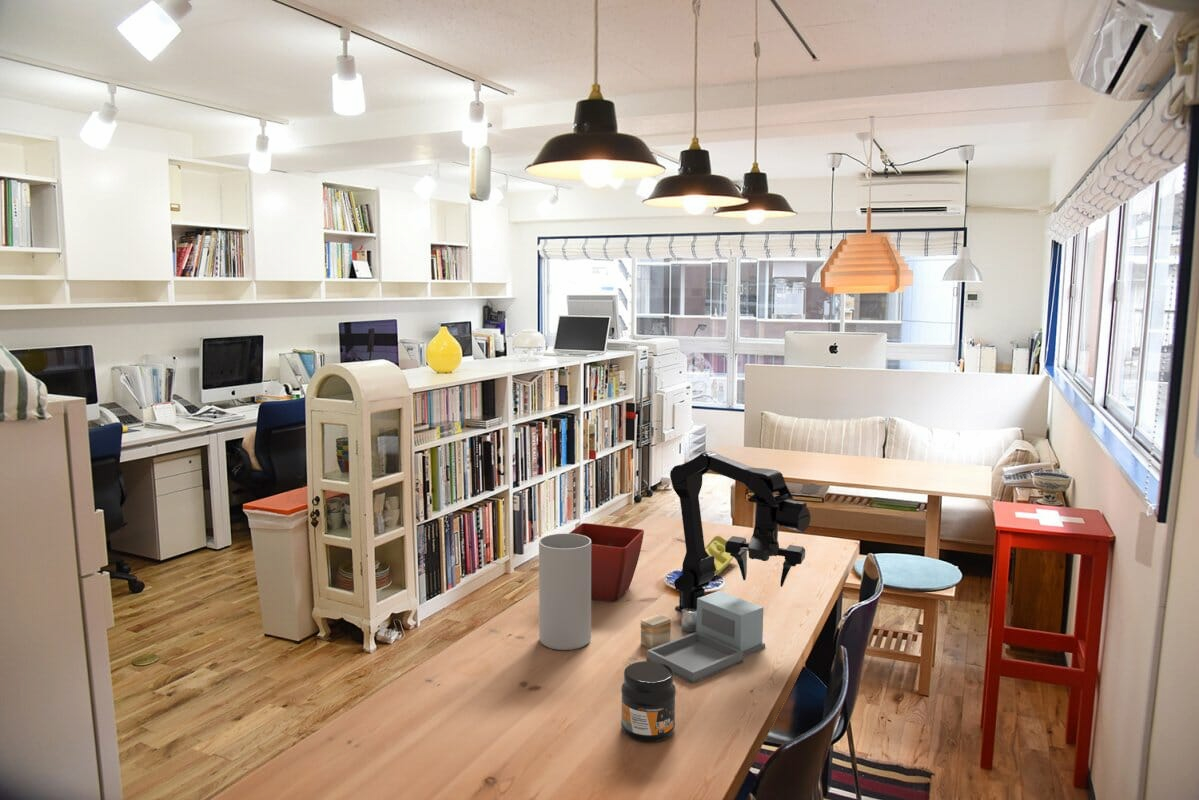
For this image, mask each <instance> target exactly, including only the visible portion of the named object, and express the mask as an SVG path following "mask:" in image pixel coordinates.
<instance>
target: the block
mask: <svg viewBox="0 0 1199 800" xmlns="http://www.w3.org/2000/svg"><path fill="white" fill-rule="evenodd" d="M671 621H672V620H671V618H670V617H667V616H665V615H662V614H660V613H658V614H655V615H651V616H650V617H647V618H643V619H640V644H641V645H643V646H644V647H647V648H649V649H652V648H654V647H657V646H660V645H662V644H665V643H668V642H670V641H671V627H672V622H671Z"/></svg>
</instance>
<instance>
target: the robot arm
mask: <svg viewBox="0 0 1199 800" xmlns="http://www.w3.org/2000/svg"><path fill="white" fill-rule="evenodd" d="M709 471H711V472H714V473H716V474H719V475H722V476H724V477H727V478H729V479H730V480H731V479H732V480H733V481H736V482H739V483H741V484H743V485H745V486H746V488H747V489H748V491H750V492H752V493H753V494H752V496H750V497H749V498H747V501H748V502H751V503H755V511H754V512H755V513H754V527H753V532H752V536H751V538H750V541H749V542H747V538H746V537H742V536H737V535H736V536H734V535H732V536H731V537H729V538H728V541H727V542H726V544H725V552H726V553H730V556H733V559H735V560H736V561H737V564H738V567H739V569H740V570H739V571H740V573H741V576H742V580H743V581H746V579H747V572H748V571H747V570H748V568H747V567H748V558H749V559H751V560H760V561H762V562H768V561H769V559H770V557H777V556H780V557H784V561H783V563H782V573H781V578H780V586H779V587H781V588H782V587H784V584H785V581H786V579H787V577H788V574H789V573H790V570H791V568H792V567H796V566H797V565H802V563H803V561H804V560H805V558H806V549H805V548H804V546H800V545H792V544H789V545H788V546H787V547H786V548H784V547H780V544H779V539H778V538H779V527H782V528H786V529H789V530H793V531H797V532H799V533H804V532H805V531H807V530H808V527H809V526H810V523H811V513H810V510H809V508H807V505H808V504H807V503H806V502H805V501H796V500H794V497H793V495H792V493H791V491H790V490H789V487H788V485H787V484H786V480H785V478H784V475H783V473H782V472H781V471H779V470H776V469H769V468H763V467H762V468H761V467H752V466H750V465H747V464H744V463H742V462H739V461H736V460H734V459H731V458H728V457H726V456H724V455H721V454H718V453H717V452H715V451H713V450H710V451H706V452H702V453H700V454H699V455H698V456H696V457H694V458H692V459H691V460H688V461H687V462H684V463H682V464H678V465H674V466H673V467H672V468H671V470H670V473H669V476H670V477H669V478H670V482H671V485H672V489H673V490H674V492H675V494H676V495H677V496H678V497H679V504H680V510H681V511H680V512H681V518H682V526H683V528H682V529H683V534H684V544H685V550H686V551H685V555H684V557H683V561H682V569H681V570H682V572H681V573H682V574H681V575H680V576H678V577H677V578H676V579H675V580H674V581H673V584H674V588H675V590H676V591H679V599H678V600H679V601H678V603H679V605H676V606H675V607H674V609H675V610H677V611H679V612H682V610H683V609H685V608H694V609H697V598H700V597H703V596H706V595H705V591H706V590H705V587H708V586H709V585H710V582H711V581H712V580H713V578H715V577H714V575H715V571H716V568H715V564H714V556H709V555H708V553H707V552H706V550H705V547H706V546H705V538H704V531H703V529H704V528H703V522H702V514H701V506H700V497H699V495H700V492H701V489H702V486H703V476H704V475H705V474H707V473H708V472H709ZM777 494H779V495H777ZM774 495H776V496H774Z"/></svg>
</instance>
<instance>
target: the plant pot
mask: <svg viewBox="0 0 1199 800" xmlns="http://www.w3.org/2000/svg"><path fill="white" fill-rule="evenodd" d="M569 533H570V534H579V535H583V536H586V537H588V538H590V539H591V600H597V601H603V602H611V603H615V602H618V601H619V600H620V599H621V597H622V596H624V594H625V593H626V592H627V591H628V590H629V588H630V587H631V583H632V581H633V578H634V575H635V573H636V568H637V566H638V562H639V560H640V559H639V558H640V554H641V550H642V546H643V540H644V535H645V534H644V533H645V530H644V529H639V528H632V527H624V526H623V527H622V526H613V525H607V524H606V525H605V524H596V523H588V522H582V523H581V524H579V525H578V526H577V527H575V528H574V529H572V530H571V531H570V532H569Z"/></svg>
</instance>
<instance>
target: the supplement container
mask: <svg viewBox="0 0 1199 800" xmlns="http://www.w3.org/2000/svg"><path fill="white" fill-rule="evenodd" d="M674 676H675V674H673V671H672V669H671V668H670V667H668V666H667V665H665V664H662V663H659V662H653V661H647V660H646V661H645V660H644V661H643V660H642V661H638V662H637V661H636V662H633V663H631V664H629V665H627V666H626V667H625V668H624V671H623V682H622V684H621V689H620V692H621V720H620V725H621V730H622V731H623V732H624V734H625V735H626V736H628V737H629V738H631V739H633V740H636V741H639V742H645V743H655V742H659V741H663V740H666V739H667V738H669V737H670V736H671V735H672V734H673V733H674V732H675V728H676V723H675V722H676V721H675V720H676V719H675V718H676V713H675V712H676V711H675V710H676V694H677V690H676V689H677V688H676V686H675V685H674Z"/></svg>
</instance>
